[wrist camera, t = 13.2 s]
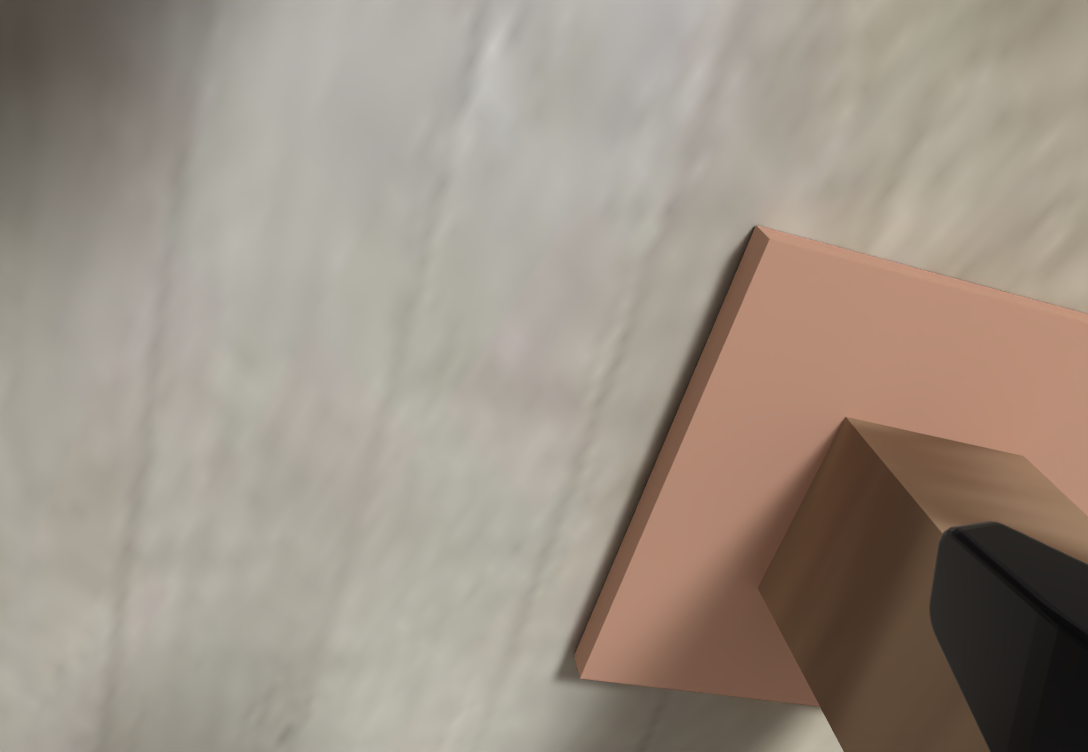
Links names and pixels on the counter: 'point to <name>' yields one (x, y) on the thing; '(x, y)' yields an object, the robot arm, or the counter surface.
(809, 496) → the walnut block
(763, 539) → the terracotta mat
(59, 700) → the counter surface
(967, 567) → the robot arm
